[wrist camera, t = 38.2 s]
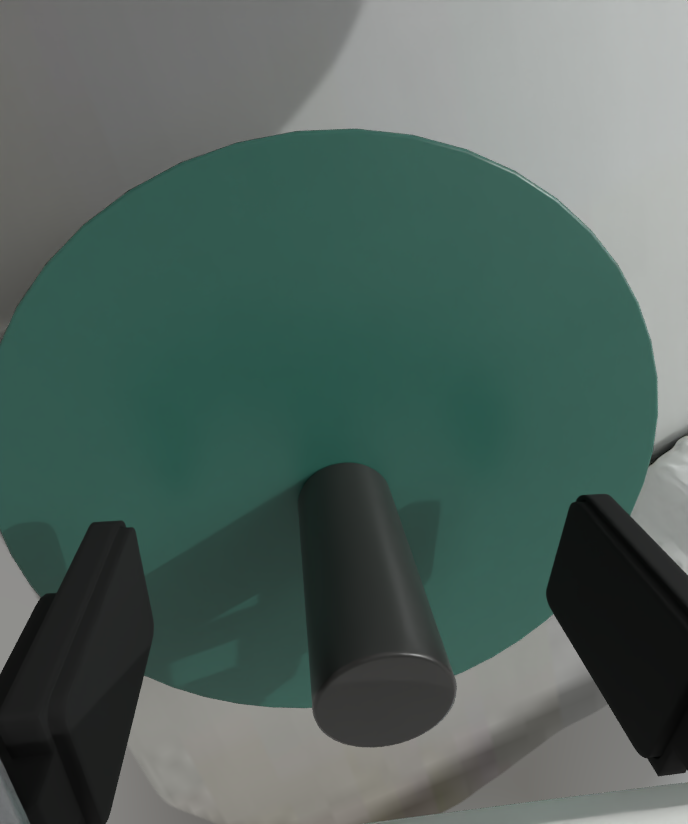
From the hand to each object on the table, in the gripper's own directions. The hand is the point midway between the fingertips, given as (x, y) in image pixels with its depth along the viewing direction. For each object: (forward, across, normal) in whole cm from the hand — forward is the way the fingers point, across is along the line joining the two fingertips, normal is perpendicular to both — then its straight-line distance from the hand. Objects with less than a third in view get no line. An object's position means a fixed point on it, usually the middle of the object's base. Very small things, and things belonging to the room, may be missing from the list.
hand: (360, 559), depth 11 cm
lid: (+3, 0, 0) cm, 3 cm away
